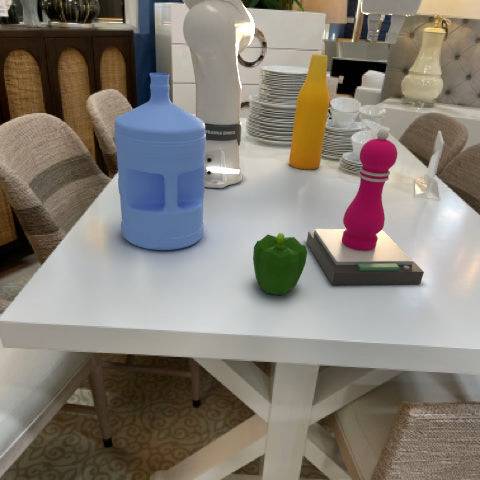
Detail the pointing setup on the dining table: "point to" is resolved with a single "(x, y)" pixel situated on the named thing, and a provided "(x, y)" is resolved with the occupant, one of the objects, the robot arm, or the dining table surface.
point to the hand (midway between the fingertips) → (380, 42)
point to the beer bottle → (310, 117)
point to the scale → (362, 260)
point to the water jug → (160, 171)
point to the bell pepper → (278, 263)
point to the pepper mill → (369, 194)
